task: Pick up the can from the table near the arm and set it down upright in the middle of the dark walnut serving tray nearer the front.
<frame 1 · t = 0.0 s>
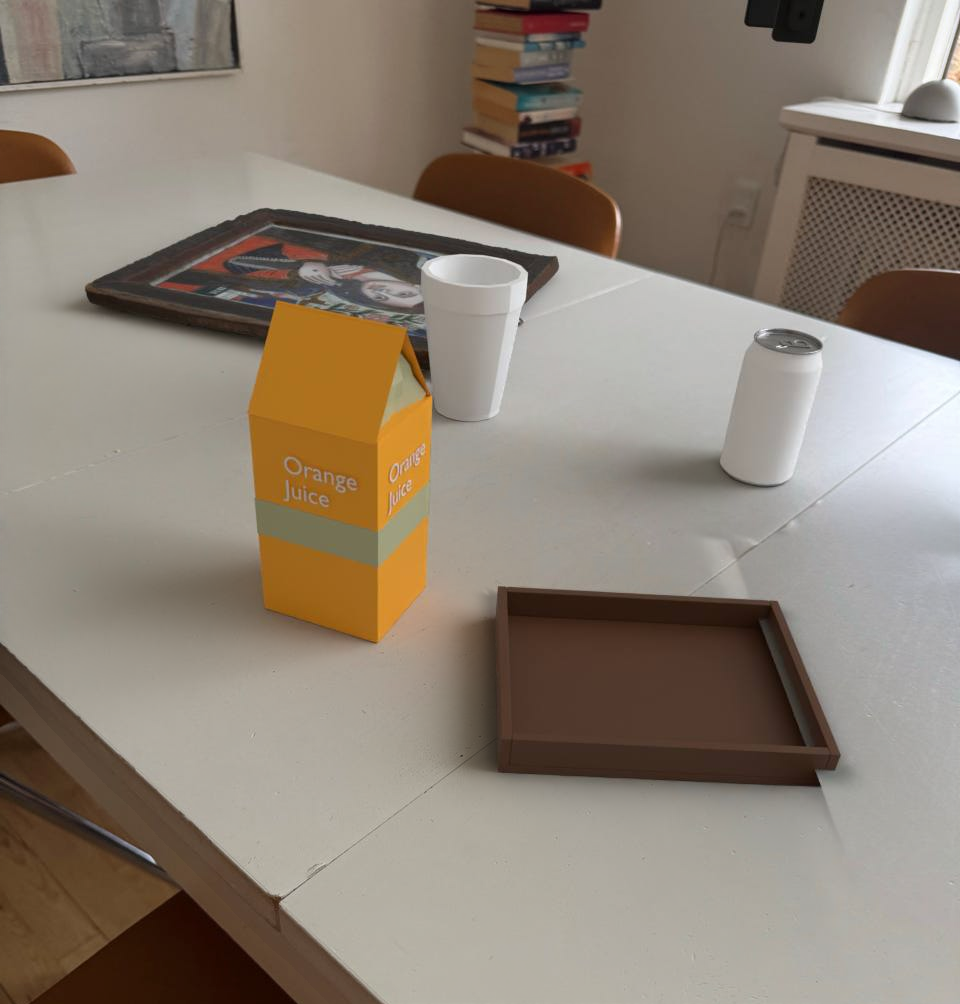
hand: (776, 34, 78), 32 cm above the table, tool pointing down, fingers open, 9 cm apart
can: (754, 472, 90), on the table
orange juice: (347, 599, 70), on the table
foam cup: (466, 409, 97), on the table
serving tray: (646, 694, 63), on the table
framed picture: (346, 294, 121), on the table
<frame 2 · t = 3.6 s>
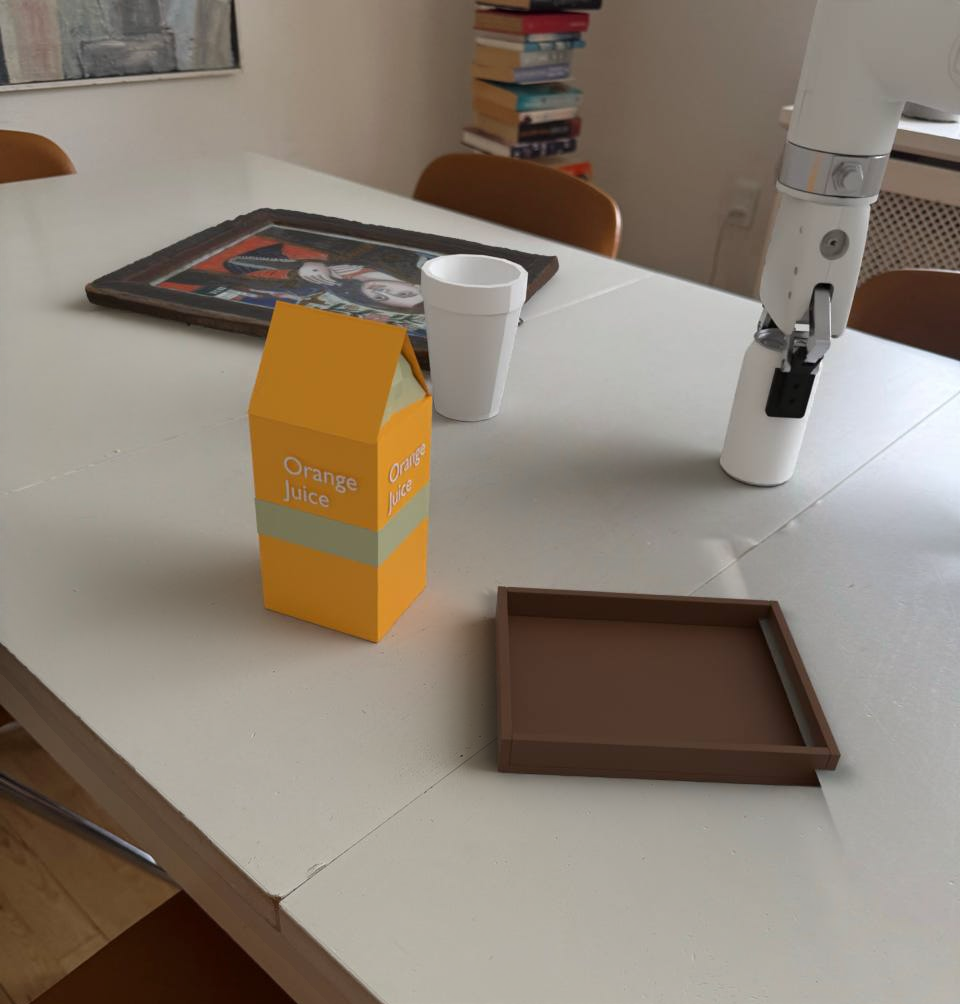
hand: (773, 396, 85), 7 cm above the table, tool pointing down, fingers closed on can, 6 cm apart
can: (754, 472, 90), on the table, touching gripper
everything else where it was.
when the fingers open (8 cm above the table, at t = 12.3 s): can stays where it is, resting on serving tray.
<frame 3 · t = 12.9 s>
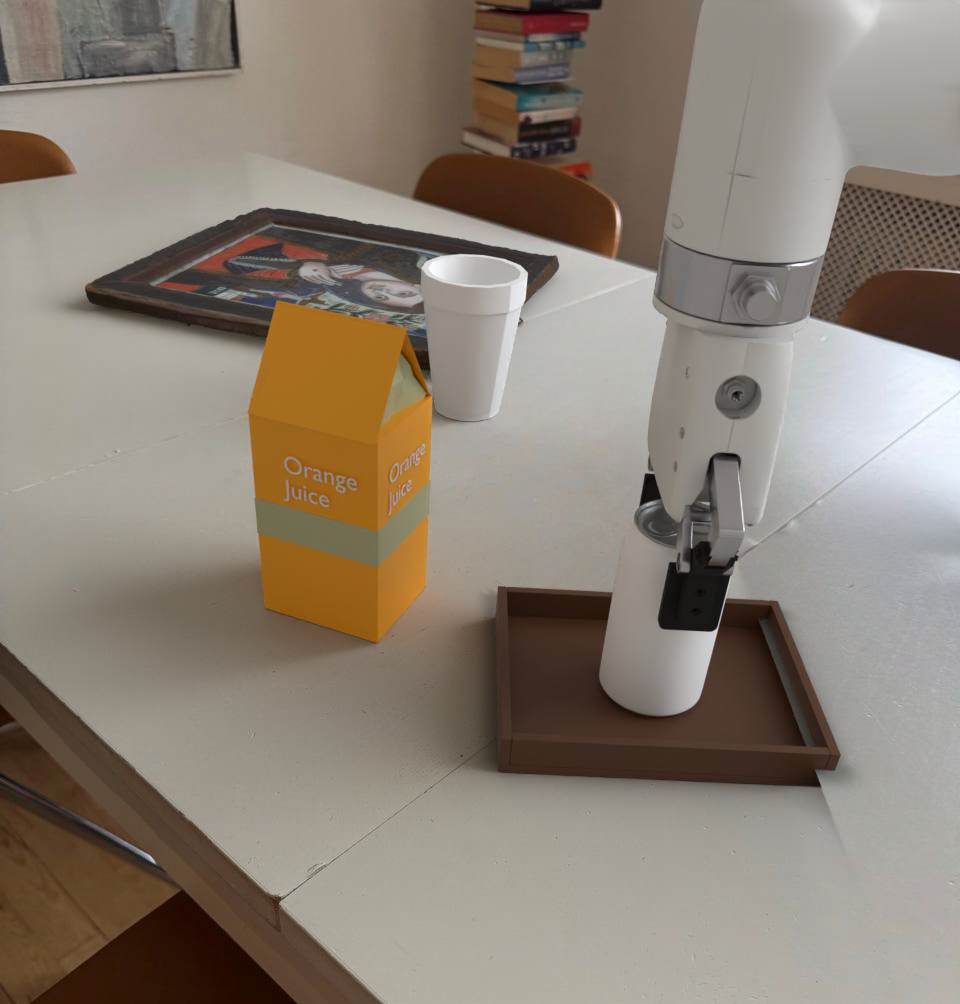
hand: (672, 577, 58), 9 cm above the table, tool pointing down, fingers open, 9 cm apart
can: (648, 689, 63), resting on serving tray
everything else where it was.
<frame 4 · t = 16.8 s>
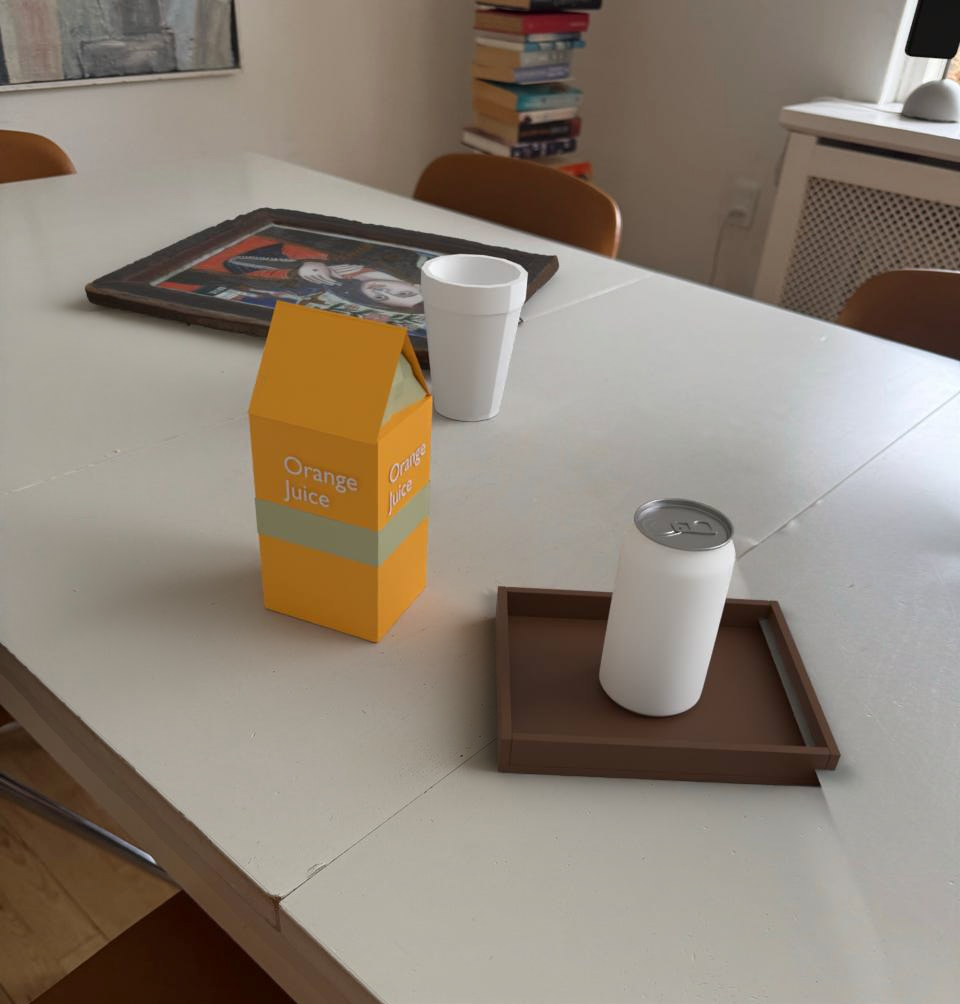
hand: (957, 68, 60), 33 cm above the table, tool pointing down, fingers open, 9 cm apart
nothing on the table moved.
at the end: can inside the target area in the serving tray (0.0 cm from its centre), point 0.4 cm above the serving tray's base; can tilted 0°; the gripper is holding nothing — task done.
